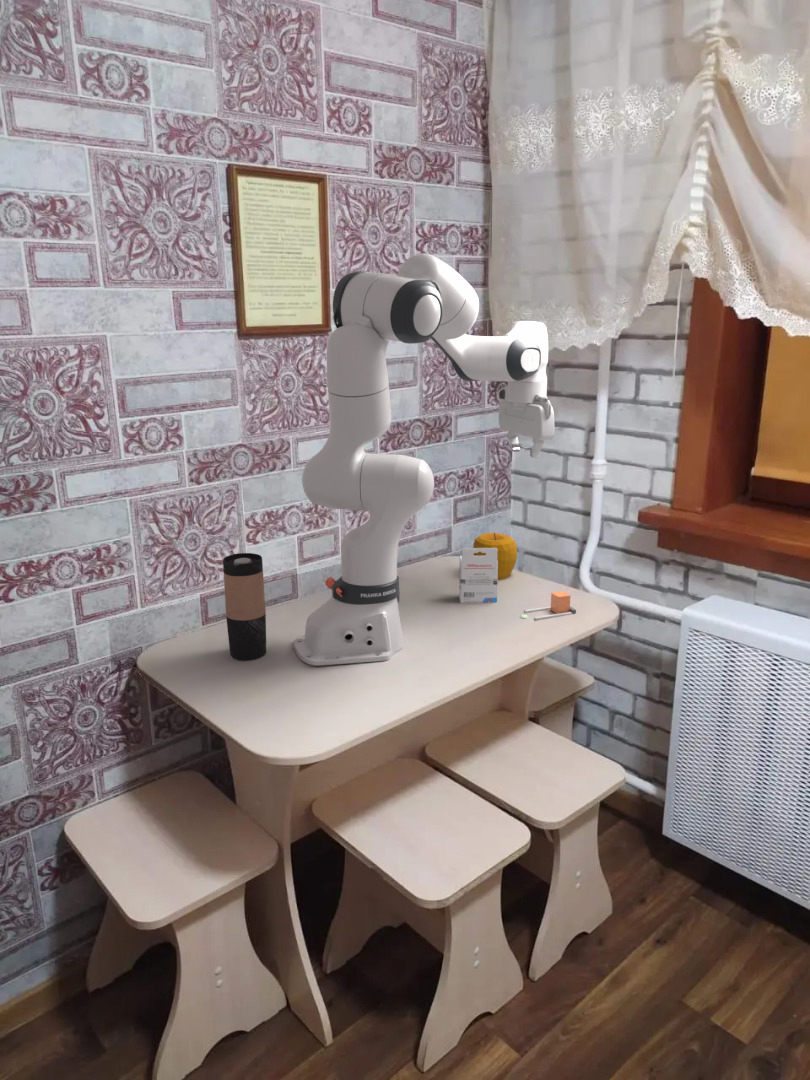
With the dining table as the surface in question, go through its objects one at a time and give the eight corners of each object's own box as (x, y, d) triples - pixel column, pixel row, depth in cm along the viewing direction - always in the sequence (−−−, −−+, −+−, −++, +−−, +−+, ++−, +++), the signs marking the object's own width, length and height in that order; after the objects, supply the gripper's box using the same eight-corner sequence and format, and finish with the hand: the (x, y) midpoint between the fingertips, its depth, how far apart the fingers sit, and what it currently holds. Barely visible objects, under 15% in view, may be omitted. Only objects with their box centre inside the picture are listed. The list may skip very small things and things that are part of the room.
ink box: (494, 602, 187) (496, 542, 183) (497, 609, 182) (499, 548, 178) (458, 602, 186) (459, 542, 182) (460, 609, 182) (461, 548, 178)
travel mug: (263, 644, 163) (258, 551, 157) (271, 658, 156) (266, 561, 150) (226, 649, 160) (219, 555, 155) (232, 664, 153) (225, 566, 148)
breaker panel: (528, 630, 169) (528, 618, 168) (496, 607, 183) (496, 596, 182) (577, 623, 173) (578, 611, 173) (543, 601, 187) (543, 590, 186)
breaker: (557, 615, 173) (558, 597, 172) (550, 611, 176) (551, 592, 175) (569, 614, 174) (570, 595, 173) (562, 609, 177) (563, 591, 176)
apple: (524, 581, 201) (526, 532, 197) (497, 592, 193) (499, 541, 190) (490, 572, 208) (491, 525, 205) (463, 582, 201) (464, 533, 197)
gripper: (563, 397, 171) (560, 460, 175) (518, 390, 190) (516, 447, 193) (537, 398, 169) (535, 462, 173) (494, 391, 188) (493, 448, 191)
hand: (524, 454), depth 183 cm, fingers open, 8 cm apart
